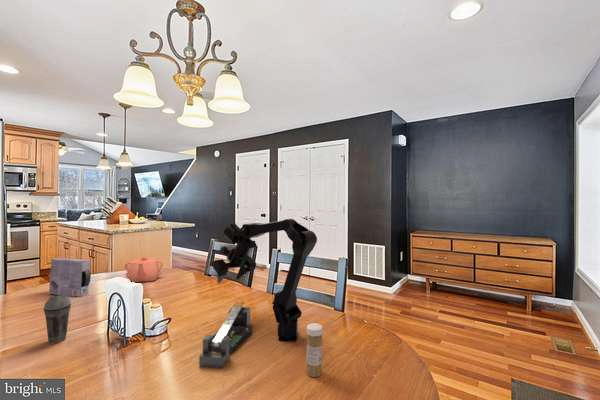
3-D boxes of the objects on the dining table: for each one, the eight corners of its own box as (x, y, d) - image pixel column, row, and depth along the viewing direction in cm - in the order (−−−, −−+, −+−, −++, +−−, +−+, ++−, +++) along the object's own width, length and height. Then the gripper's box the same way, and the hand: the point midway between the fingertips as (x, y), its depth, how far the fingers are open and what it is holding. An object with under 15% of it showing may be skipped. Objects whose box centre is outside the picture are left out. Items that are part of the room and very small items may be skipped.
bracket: (250, 323, 113) (250, 306, 113) (223, 368, 83) (223, 344, 83) (232, 322, 114) (232, 305, 114) (199, 366, 84) (199, 343, 84)
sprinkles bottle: (313, 366, 85) (313, 321, 85) (325, 373, 82) (325, 326, 82) (302, 373, 82) (303, 326, 81) (314, 380, 78) (315, 331, 78)
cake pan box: (91, 294, 144) (91, 259, 144) (82, 297, 139) (82, 261, 139) (58, 291, 147) (58, 257, 147) (48, 295, 142) (48, 259, 142)
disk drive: (227, 331, 108) (203, 350, 94) (227, 323, 108) (203, 342, 94) (252, 335, 105) (232, 355, 91) (252, 327, 105) (232, 346, 91)
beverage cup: (37, 347, 93) (38, 286, 93) (50, 336, 100) (51, 279, 100) (64, 344, 95) (64, 284, 95) (75, 334, 102) (75, 278, 102)
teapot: (118, 287, 155) (119, 262, 154) (127, 278, 173) (127, 255, 173) (159, 284, 161) (160, 260, 161) (163, 275, 179) (164, 253, 179)
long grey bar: (243, 304, 111) (243, 301, 111) (220, 348, 87) (220, 344, 86) (235, 304, 111) (235, 300, 111) (210, 348, 87) (210, 343, 87)
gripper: (249, 238, 127) (236, 266, 131) (212, 239, 113) (199, 271, 117) (263, 253, 121) (249, 282, 125) (226, 257, 106) (211, 289, 111)
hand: (227, 281), depth 119 cm, fingers open, 9 cm apart
